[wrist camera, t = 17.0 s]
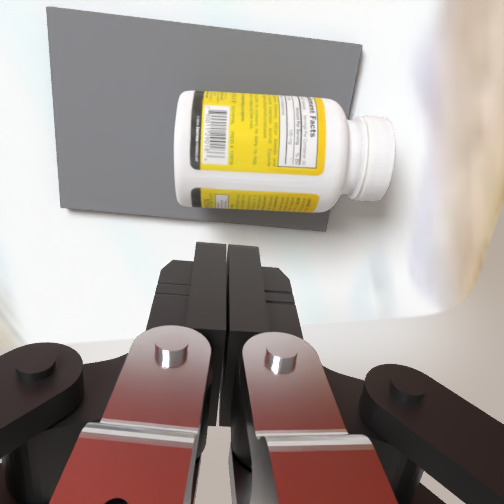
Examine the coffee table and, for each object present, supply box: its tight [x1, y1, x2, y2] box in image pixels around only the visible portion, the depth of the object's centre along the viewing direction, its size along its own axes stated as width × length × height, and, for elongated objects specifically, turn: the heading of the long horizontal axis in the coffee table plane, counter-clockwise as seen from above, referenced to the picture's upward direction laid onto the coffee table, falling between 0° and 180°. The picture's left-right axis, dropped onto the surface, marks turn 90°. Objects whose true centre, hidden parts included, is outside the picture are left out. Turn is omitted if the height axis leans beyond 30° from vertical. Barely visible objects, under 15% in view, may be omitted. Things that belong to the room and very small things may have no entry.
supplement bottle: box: [174, 91, 395, 213], centre depth 23 cm, size 5×5×10 cm
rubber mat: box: [46, 7, 362, 231], centre depth 25 cm, size 15×10×1 cm, turn 84°
